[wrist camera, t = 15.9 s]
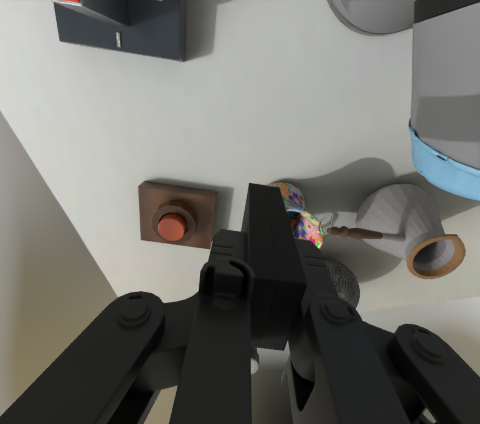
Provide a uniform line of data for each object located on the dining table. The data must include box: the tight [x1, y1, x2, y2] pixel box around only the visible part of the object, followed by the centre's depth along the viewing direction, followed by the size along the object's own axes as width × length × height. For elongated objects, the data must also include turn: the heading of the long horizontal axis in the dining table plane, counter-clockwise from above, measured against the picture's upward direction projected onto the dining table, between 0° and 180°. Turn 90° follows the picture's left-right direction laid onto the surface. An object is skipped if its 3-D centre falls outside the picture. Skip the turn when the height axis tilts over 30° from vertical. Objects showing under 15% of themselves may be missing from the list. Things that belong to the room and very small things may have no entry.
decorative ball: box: [324, 260, 360, 309], centre depth 43 cm, size 10×10×10 cm
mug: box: [267, 182, 324, 249], centre depth 38 cm, size 12×9×11 cm
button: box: [158, 213, 187, 241], centre depth 39 cm, size 4×4×2 cm
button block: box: [138, 182, 217, 249], centre depth 41 cm, size 12×10×4 cm
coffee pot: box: [318, 184, 466, 279], centre depth 34 cm, size 21×12×15 cm, turn 70°
